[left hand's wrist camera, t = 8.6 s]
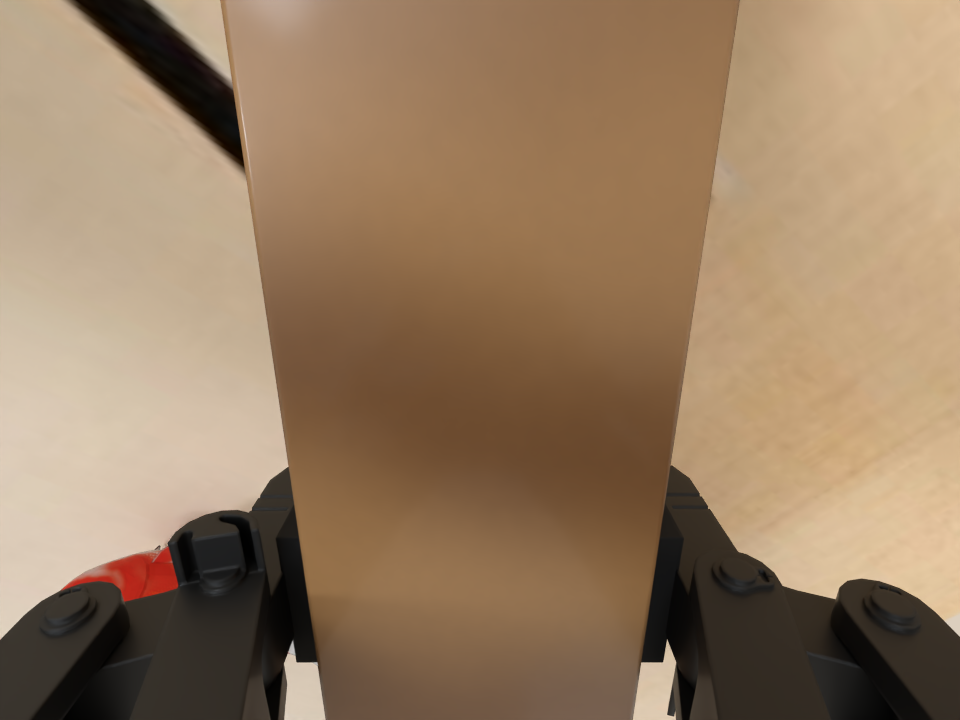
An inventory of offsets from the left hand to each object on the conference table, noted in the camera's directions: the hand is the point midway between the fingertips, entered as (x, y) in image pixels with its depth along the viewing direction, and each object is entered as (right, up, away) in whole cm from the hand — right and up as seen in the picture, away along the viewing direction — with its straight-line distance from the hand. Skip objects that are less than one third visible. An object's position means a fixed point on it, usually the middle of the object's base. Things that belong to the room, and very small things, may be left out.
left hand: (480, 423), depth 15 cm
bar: (0, +22, -7) cm, 23 cm away
